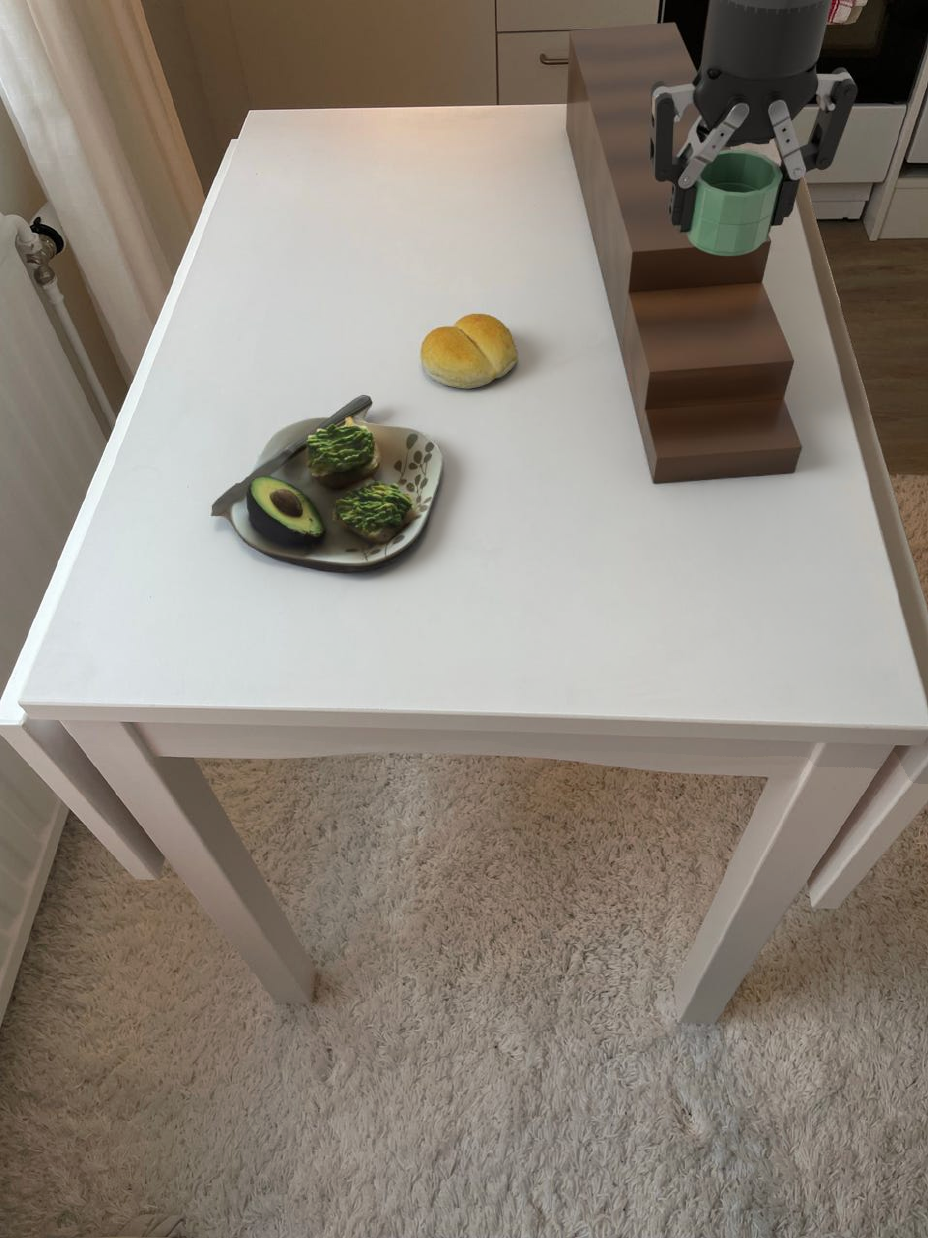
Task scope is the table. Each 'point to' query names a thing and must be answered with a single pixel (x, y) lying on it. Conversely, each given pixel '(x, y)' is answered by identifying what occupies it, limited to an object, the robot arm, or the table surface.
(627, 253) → the wooden stair steps
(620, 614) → the table surface
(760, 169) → the cup
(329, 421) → the salad plate
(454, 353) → the bread roll
